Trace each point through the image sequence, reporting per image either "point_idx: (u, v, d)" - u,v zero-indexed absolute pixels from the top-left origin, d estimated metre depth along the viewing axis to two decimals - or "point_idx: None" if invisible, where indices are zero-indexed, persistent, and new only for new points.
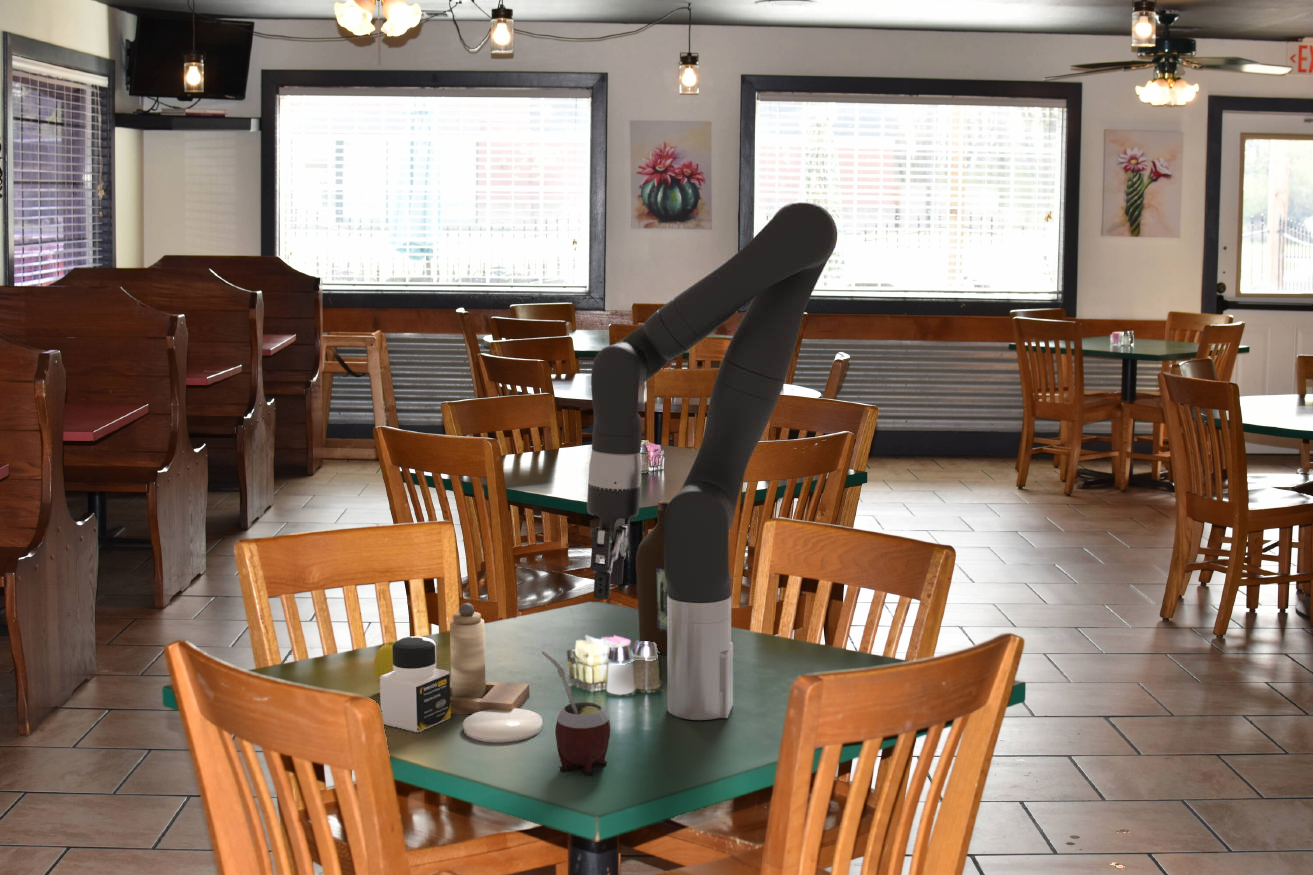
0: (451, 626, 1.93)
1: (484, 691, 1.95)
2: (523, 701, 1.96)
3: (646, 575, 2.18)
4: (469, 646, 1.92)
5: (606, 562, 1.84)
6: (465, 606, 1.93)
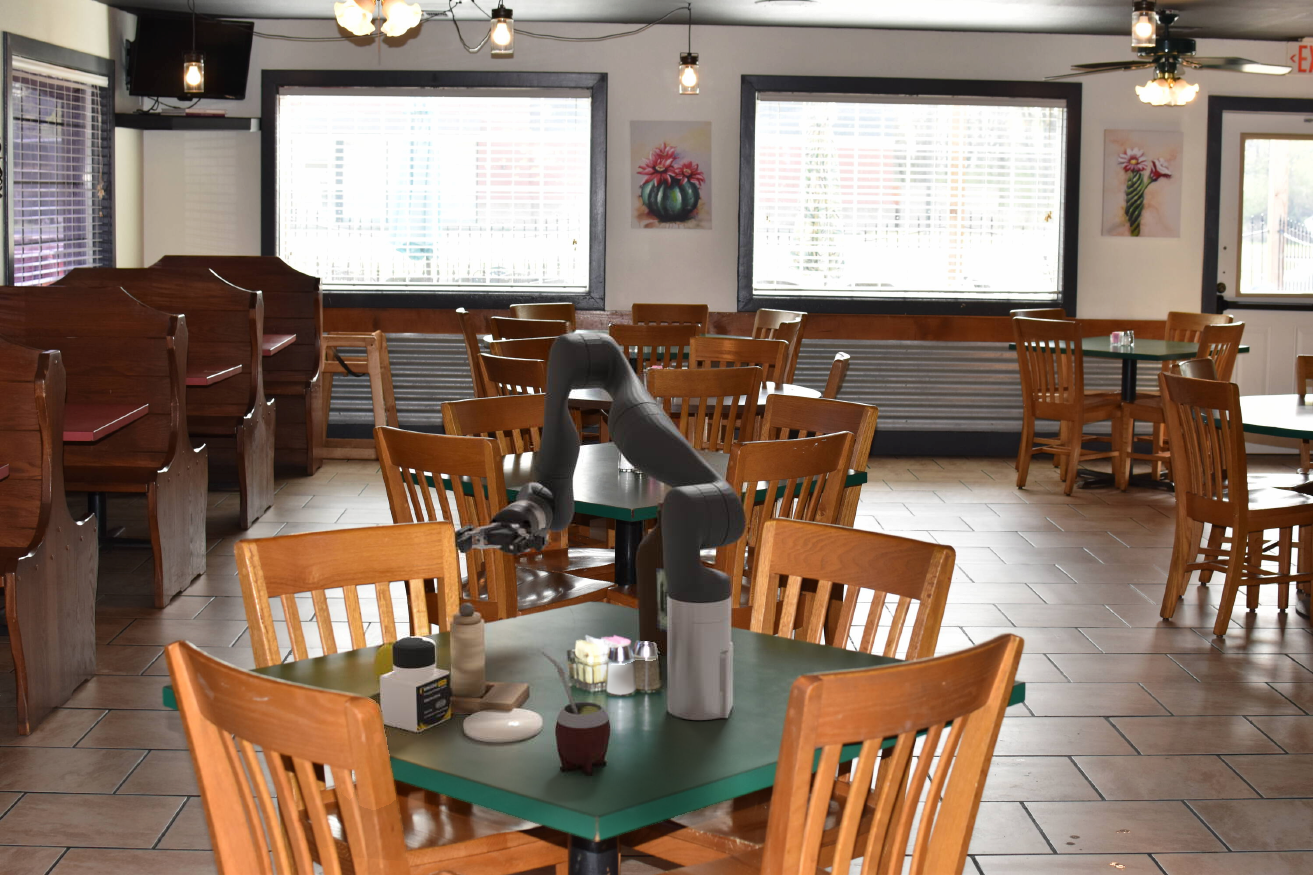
0: (451, 626, 1.93)
1: (484, 691, 1.95)
2: (523, 701, 1.96)
3: (646, 575, 2.18)
4: (469, 646, 1.92)
5: (457, 531, 2.11)
6: (465, 606, 1.93)
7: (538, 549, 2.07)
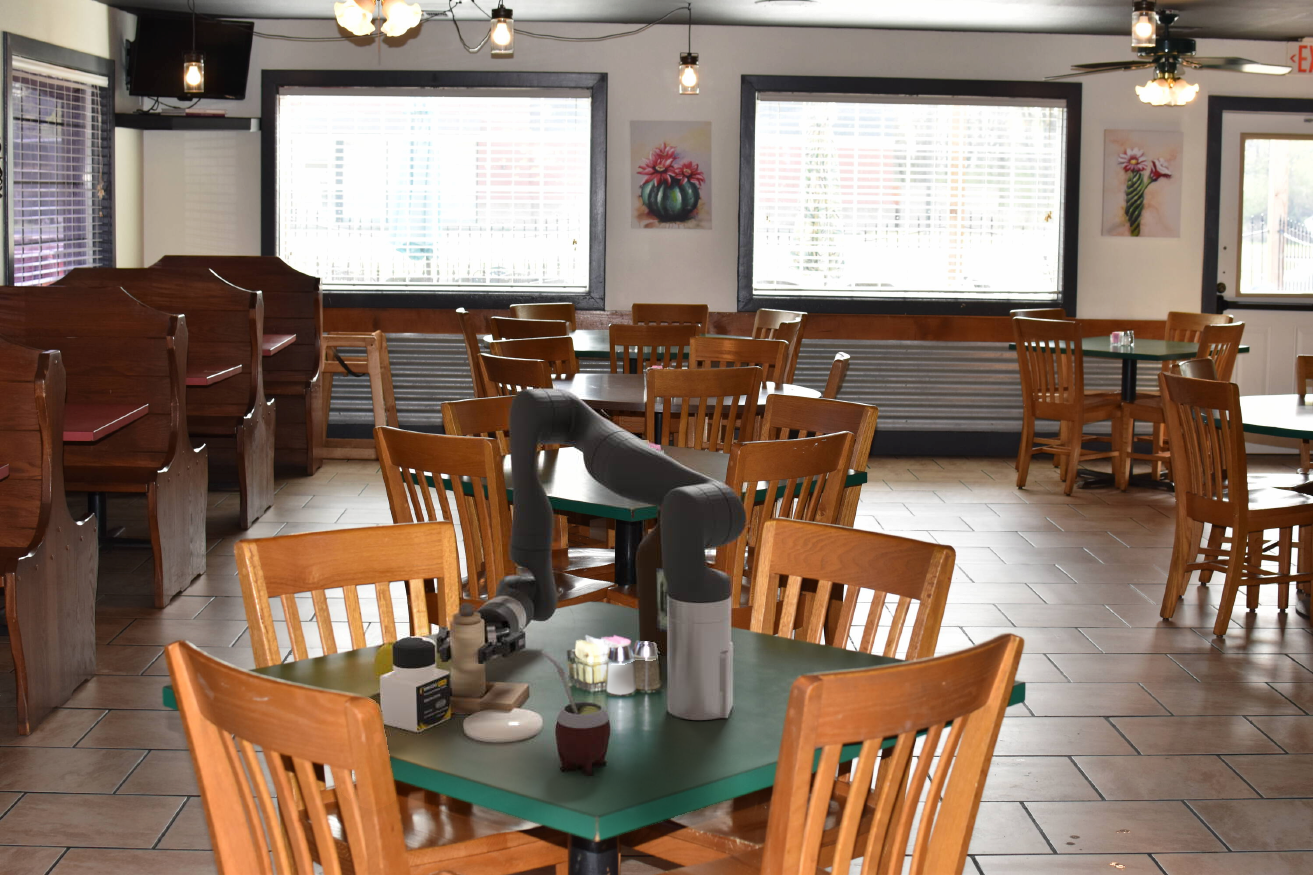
0: (451, 626, 1.93)
1: (484, 691, 1.95)
2: (523, 701, 1.96)
3: (646, 575, 2.18)
4: (469, 646, 1.92)
5: (437, 636, 1.99)
6: (465, 606, 1.93)
7: (504, 655, 1.96)
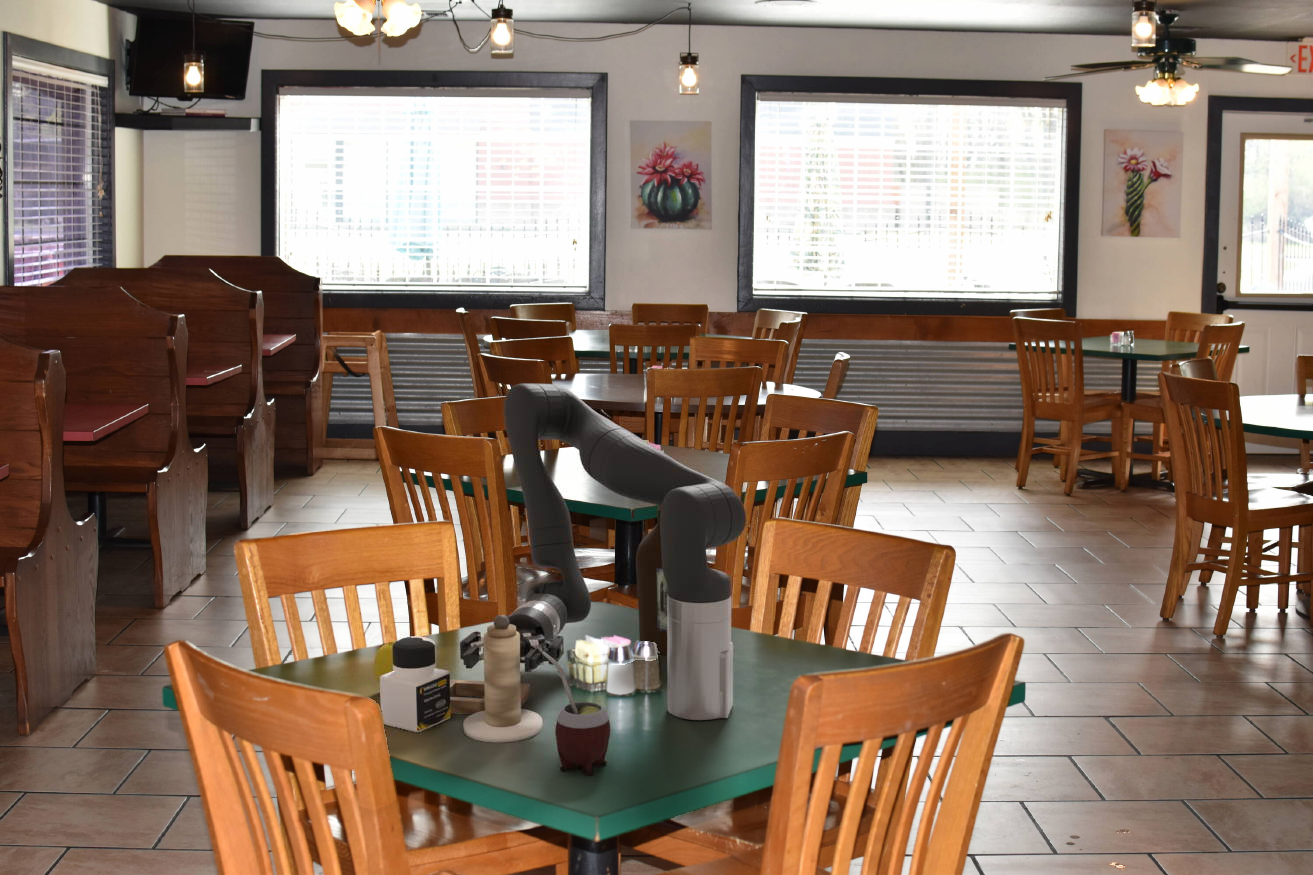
0: (485, 639, 1.83)
1: (519, 708, 1.85)
2: (523, 701, 1.96)
3: (646, 575, 2.18)
4: (504, 660, 1.82)
5: (462, 640, 1.89)
6: (500, 618, 1.83)
7: None
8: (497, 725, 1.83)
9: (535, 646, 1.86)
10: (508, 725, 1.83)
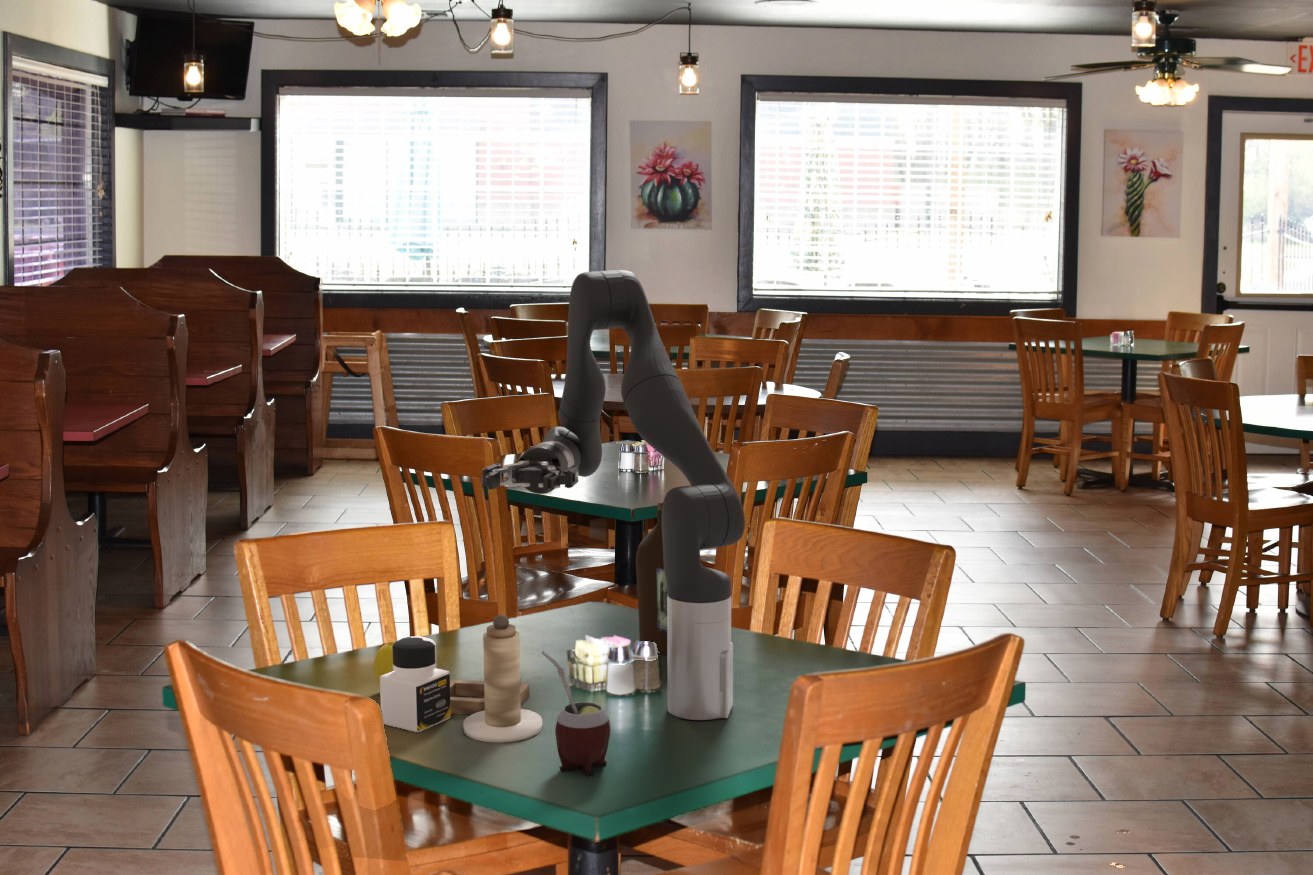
0: (485, 639, 1.83)
1: (519, 708, 1.85)
2: (523, 701, 1.96)
3: (646, 575, 2.18)
4: (504, 660, 1.82)
5: (484, 468, 2.04)
6: (499, 618, 1.83)
7: (568, 486, 2.01)
8: (497, 725, 1.83)
9: (552, 471, 2.01)
10: (508, 725, 1.83)
